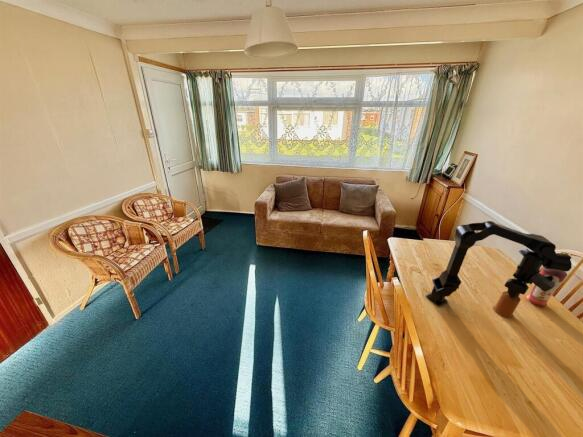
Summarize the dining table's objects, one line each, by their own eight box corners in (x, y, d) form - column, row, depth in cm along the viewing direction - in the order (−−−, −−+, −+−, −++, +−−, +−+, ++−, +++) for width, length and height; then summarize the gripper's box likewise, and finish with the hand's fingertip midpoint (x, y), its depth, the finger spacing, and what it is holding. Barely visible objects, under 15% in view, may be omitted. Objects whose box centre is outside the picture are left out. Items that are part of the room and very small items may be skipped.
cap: (504, 291, 100) (506, 286, 99) (511, 290, 101) (514, 286, 100) (513, 297, 97) (515, 293, 96) (521, 296, 97) (523, 292, 96)
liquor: (545, 302, 109) (577, 253, 96) (546, 311, 104) (580, 261, 92) (525, 294, 113) (552, 246, 101) (524, 302, 108) (554, 253, 96)
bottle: (506, 319, 100) (519, 297, 94) (491, 309, 105) (502, 288, 99) (514, 314, 102) (526, 293, 97) (498, 305, 107) (509, 284, 102)
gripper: (552, 286, 81) (532, 317, 88) (563, 267, 91) (545, 296, 98) (512, 269, 90) (496, 299, 96) (526, 254, 99) (511, 282, 106)
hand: (513, 294), depth 99 cm, fingers open, 6 cm apart
